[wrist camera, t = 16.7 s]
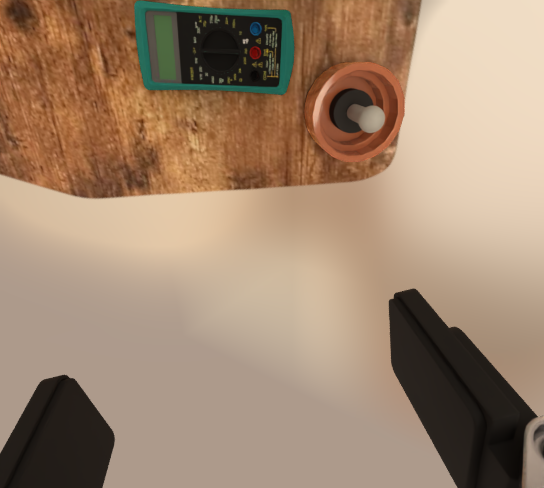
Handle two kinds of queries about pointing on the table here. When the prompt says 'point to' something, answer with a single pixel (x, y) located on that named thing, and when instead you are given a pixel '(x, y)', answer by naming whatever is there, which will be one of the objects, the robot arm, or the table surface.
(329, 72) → the basin bowl
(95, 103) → the table surface
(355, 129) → the stopper
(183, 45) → the digital multimeter
